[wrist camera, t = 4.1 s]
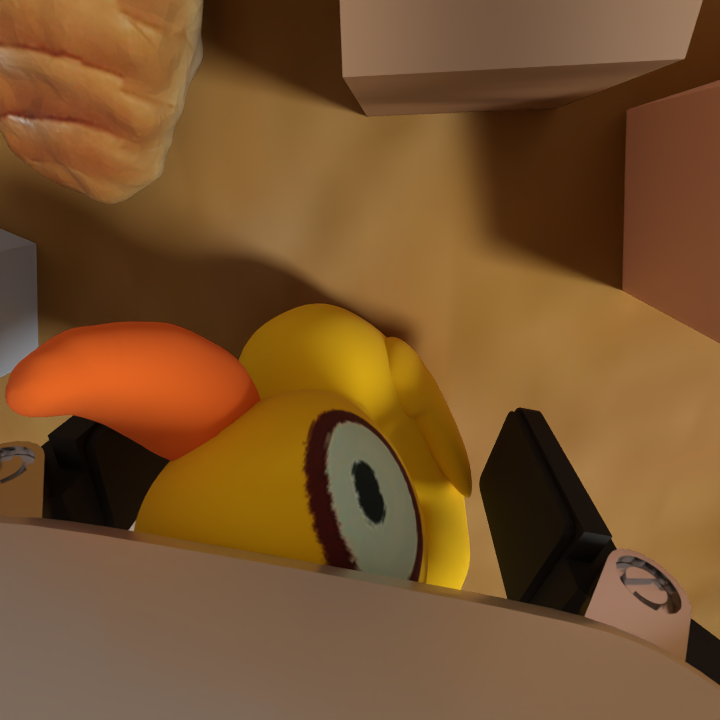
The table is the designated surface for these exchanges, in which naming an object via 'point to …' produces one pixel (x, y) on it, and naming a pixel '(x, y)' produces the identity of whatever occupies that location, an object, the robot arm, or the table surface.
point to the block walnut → (503, 51)
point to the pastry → (96, 88)
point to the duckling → (276, 437)
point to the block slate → (17, 300)
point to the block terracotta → (675, 207)
